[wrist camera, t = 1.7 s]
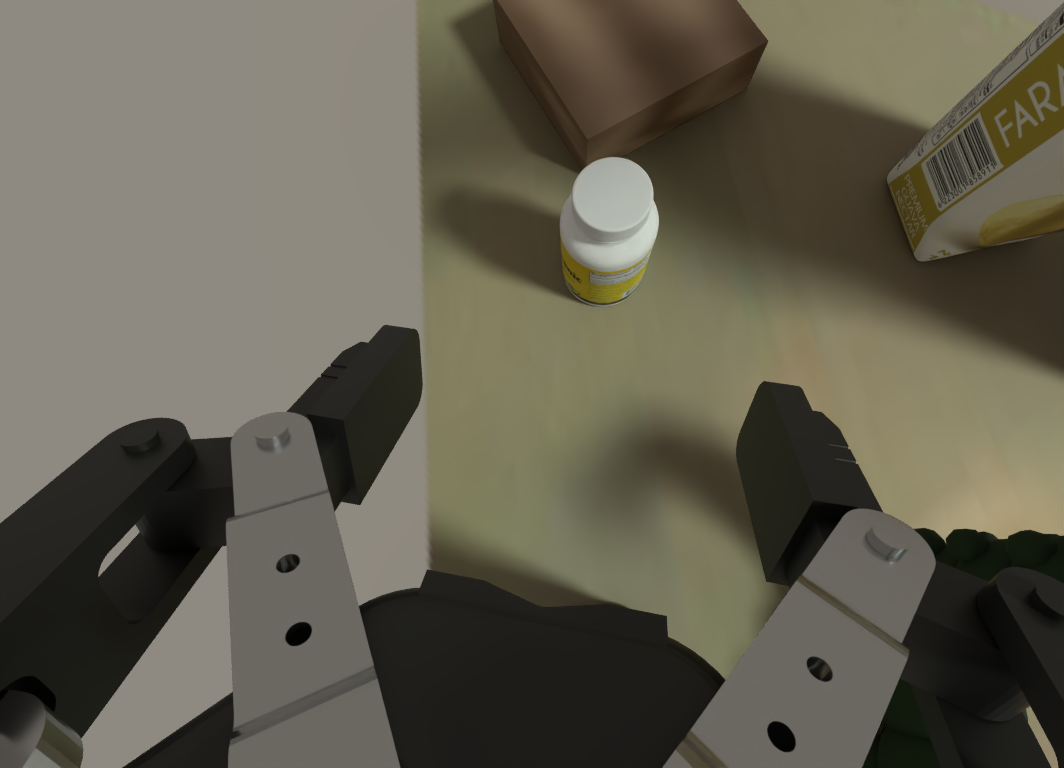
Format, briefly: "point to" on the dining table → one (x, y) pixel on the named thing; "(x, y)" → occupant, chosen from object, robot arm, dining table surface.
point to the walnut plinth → (627, 65)
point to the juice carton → (991, 157)
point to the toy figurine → (905, 746)
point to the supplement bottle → (608, 231)
